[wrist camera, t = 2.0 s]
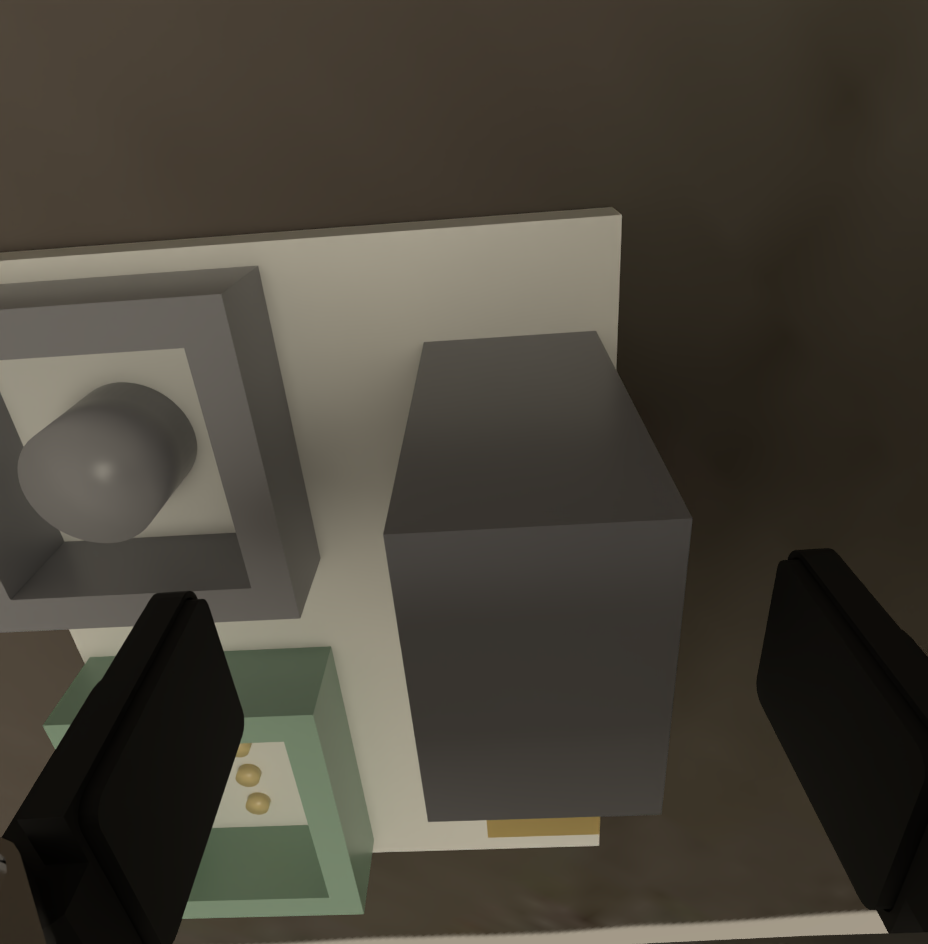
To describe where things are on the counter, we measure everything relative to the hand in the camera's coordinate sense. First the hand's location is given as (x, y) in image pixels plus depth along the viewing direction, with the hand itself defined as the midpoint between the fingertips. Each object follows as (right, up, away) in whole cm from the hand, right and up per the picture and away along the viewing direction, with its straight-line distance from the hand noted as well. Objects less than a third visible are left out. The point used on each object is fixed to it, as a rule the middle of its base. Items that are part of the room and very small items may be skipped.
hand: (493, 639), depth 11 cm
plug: (+1, +3, +6) cm, 7 cm away
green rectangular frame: (-8, -7, +12) cm, 16 cm away
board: (-4, -1, +10) cm, 11 cm away
